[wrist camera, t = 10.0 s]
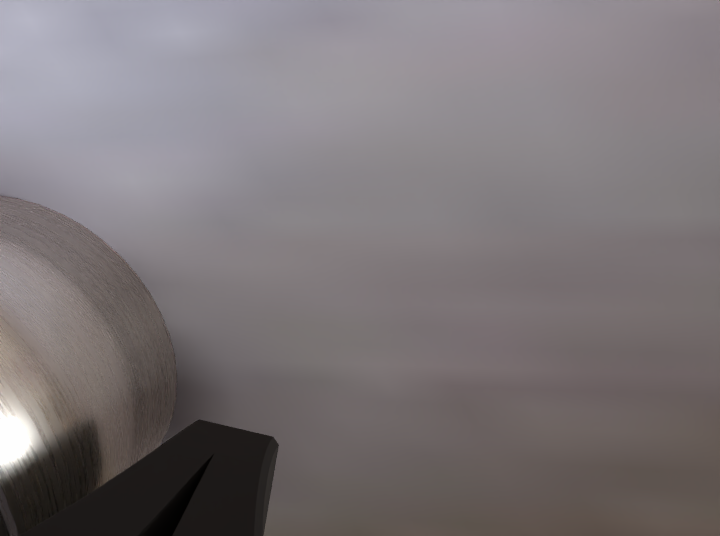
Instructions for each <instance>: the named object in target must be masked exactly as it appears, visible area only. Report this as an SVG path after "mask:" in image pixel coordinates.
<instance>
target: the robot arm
mask: <svg viewBox="0 0 720 536" xmlns="http://www.w3.org/2000/svg"><path fill="white" fill-rule="evenodd" d="M278 446H279V445H278V443H277V442H276V440H275V439H274V437H272V436H267V435H263V434H259V433H254V432H250V431H246V430H242V429H237V428H233V427H229V426H224V425H220V424H216V423H212V422H207V421H203V420H198V421H196V422H194V423H193V424H191V425H190V426H188V427H187V428H185V429H184V430H182V431H181V432H179V433H178V434H176V435H175V436H174V437H172V438H171V439H169V440H168V441H166V442H165V443H164V444H162V445H161V446H159V447H158V448H156V449H155V450H154V451H152V452H151V453H149V454H148V455H146V456H145V457H143V458H142V459H141V460H139V461H138V462H136V463H135V464H133V465H132V466H130V467H129V468H127V469H126V470H124V471H123V472H121V473H120V474H118V475H117V476H115V477H114V478H112V479H110V480H109V481H107V482H106V483H104V484H103V485H101V486H100V487H98V488H97V489H95V490H94V491H92V492H91V493H89V494H87V495H86V496H84V497H83V498H81V499H80V500H78V501H76V502H75V503H73V504H71V505H70V506H68V507H66V508H65V509H63V510H61V511H59V512H58V513H56V514H54V515H53V516H51V517H49V518H48V519H46V520H44V521H43V522H41V523H39V524H38V525H36V526H34V527H33V528H31V529H29V530H27V531H26V532H24V533H22V534H21V535H19V536H263V535H264V529H265V523H266V517H267V511H268V505H269V499H270V493H271V487H272V481H273V475H274V470H275V464H276V458H277V452H278Z"/></svg>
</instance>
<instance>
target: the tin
mask: <svg viewBox="0 0 720 536" xmlns="http://www.w3.org/2000/svg"><path fill="white" fill-rule="evenodd" d="M176 396H177V370H176V362H175V354H174V350H173V347H172V343H171V339H170V335H169V332H168V330H167V327H166V325H165V322H164V320H163V317H162V314H161V312H160V311H159V309H158V307H157V305H156V303H155V301H154V300H153V298H152V296H151V294H150V293H149V291H148V290H147V288H146V287H145V285H144V284H143V283H142V281H141V280H140V278H139V277H138V275H137V274H136V273H135V272H134V271H133V270H132V268H131V267H130V266H129V265H128V264H127V263H126V262H125V261H124V259H123V258H122V257H121V256H120V255H119V254H118V253H117V252H115V251H114V250H113V249H112V248H111V247H110V246H109V245H108V244H107V243H106V242H104V241H103V240H102V239H101V238H99V237H98V236H96V235H95V234H94V233H92V232H91V231H90V230H88V229H87V228H85V227H84V226H83V225H81V224H79V223H77V222H75V221H74V220H72V219H70V218H68V217H66V216H65V215H63V214H61V213H58V212H56V211H54V210H51V209H49V208H47V207H44V206H42V205H39V204H36V203H32V202H28V201H25V200H21V199H18V198H11V197H4V196H0V536H19V535H21V534H22V533H24V532H26V531H27V530H29V529H31V528H33V527H34V526H36V525H38V524H39V523H41V522H43V521H44V520H46V519H48V518H49V517H51V516H53V515H54V514H56V513H58V512H59V511H61V510H63V509H65V508H66V507H68V506H70V505H71V504H73V503H75V502H76V501H78V500H80V499H81V498H83V497H84V496H86V495H87V494H89V493H91V492H92V491H94V490H95V489H97V488H98V487H100V486H101V485H103V484H104V483H106V482H107V481H109V480H110V479H112V478H114V477H115V476H117V475H118V474H120V473H121V472H123V471H124V470H126V469H127V468H129V467H130V466H132V465H133V464H135V463H136V462H138V461H139V460H141V459H142V458H143V457H145V456H146V455H148V454H149V453H151V452H152V451H154V450H155V449H156V448H158V447H159V446H160V444H161V442H162V440H163V438H164V436H165V434H166V432H167V430H168V428H169V425H170V422H171V419H172V416H173V413H174V407H175V401H176Z"/></svg>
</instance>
